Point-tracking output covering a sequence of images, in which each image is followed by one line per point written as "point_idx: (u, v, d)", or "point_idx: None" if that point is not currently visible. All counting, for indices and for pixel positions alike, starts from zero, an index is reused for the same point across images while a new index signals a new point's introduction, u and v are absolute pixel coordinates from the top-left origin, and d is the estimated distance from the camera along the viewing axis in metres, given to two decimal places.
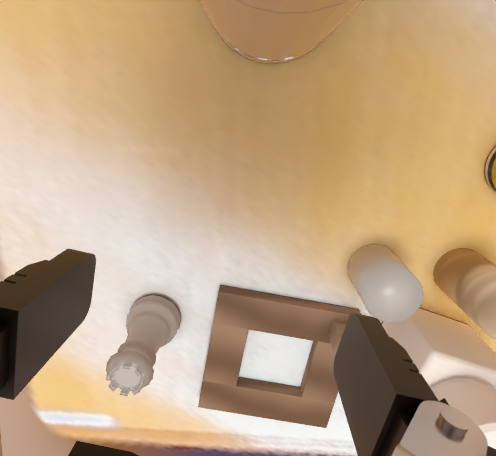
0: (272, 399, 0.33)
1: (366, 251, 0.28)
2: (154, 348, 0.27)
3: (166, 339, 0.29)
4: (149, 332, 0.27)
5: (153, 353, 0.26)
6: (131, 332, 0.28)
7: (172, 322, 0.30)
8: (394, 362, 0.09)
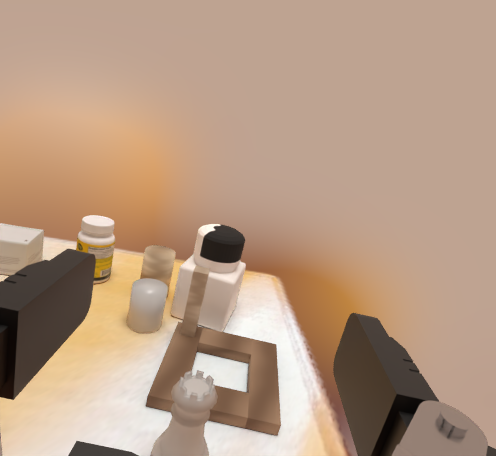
0: (257, 371, 0.38)
1: (128, 318, 0.42)
2: None
3: None
4: None
5: None
6: (172, 435, 0.26)
7: None
8: (394, 362, 0.09)
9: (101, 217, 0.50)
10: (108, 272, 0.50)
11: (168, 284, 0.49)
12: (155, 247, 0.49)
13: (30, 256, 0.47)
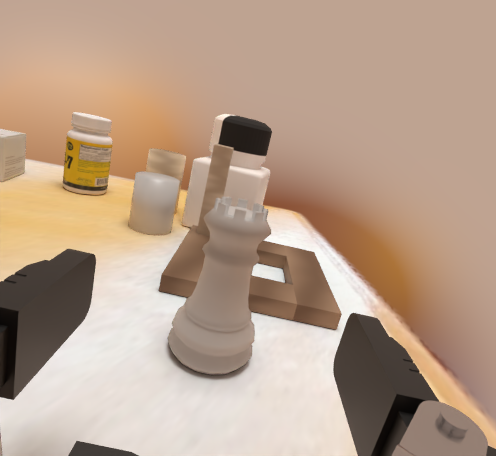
0: (298, 268, 0.30)
1: (131, 217, 0.34)
2: None
3: None
4: None
5: None
6: (205, 285, 0.17)
7: None
8: (394, 362, 0.09)
9: (96, 116, 0.41)
10: (104, 183, 0.42)
11: (177, 194, 0.41)
12: (161, 150, 0.41)
13: (9, 156, 0.38)
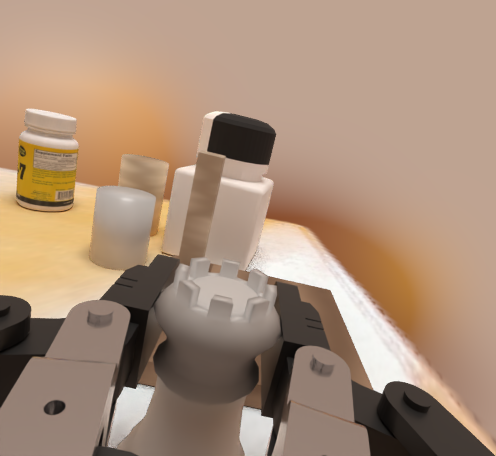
0: None
1: (91, 246, 0.26)
2: None
3: None
4: None
5: None
6: (157, 430, 0.09)
7: None
8: (294, 318, 0.10)
9: (57, 113, 0.33)
10: (69, 197, 0.34)
11: (158, 211, 0.33)
12: (138, 156, 0.33)
13: None
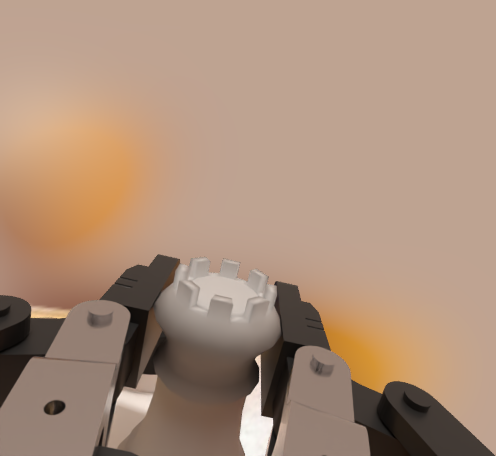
0: None
1: None
2: None
3: None
4: None
5: None
6: (157, 430, 0.09)
7: None
8: (294, 318, 0.10)
9: None
10: None
11: None
12: None
13: None
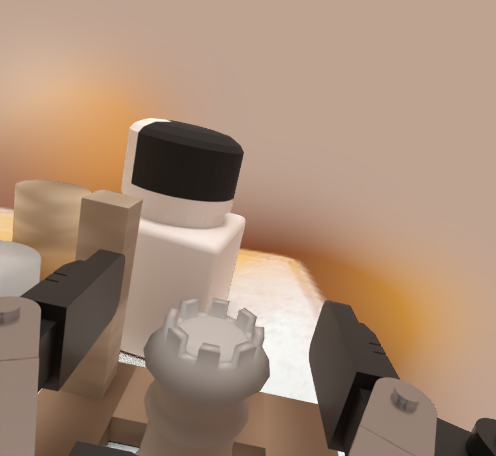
0: None
1: None
2: None
3: None
4: None
5: None
6: None
7: None
8: (359, 344, 0.09)
9: None
10: None
11: None
12: (47, 183, 0.23)
13: None
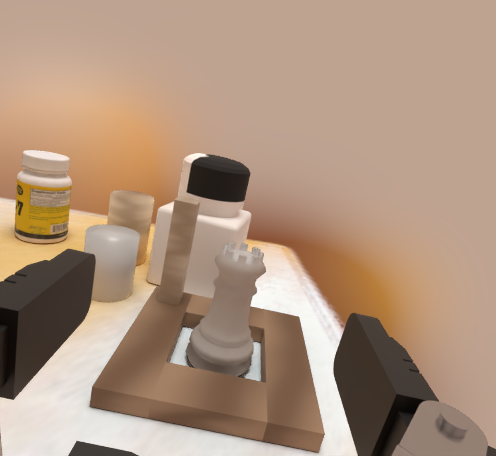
0: (276, 350, 0.25)
1: None
2: None
3: None
4: None
5: None
6: (216, 311, 0.22)
7: None
8: (394, 362, 0.09)
9: (52, 153, 0.36)
10: (63, 229, 0.37)
11: (145, 242, 0.36)
12: (126, 192, 0.36)
13: None
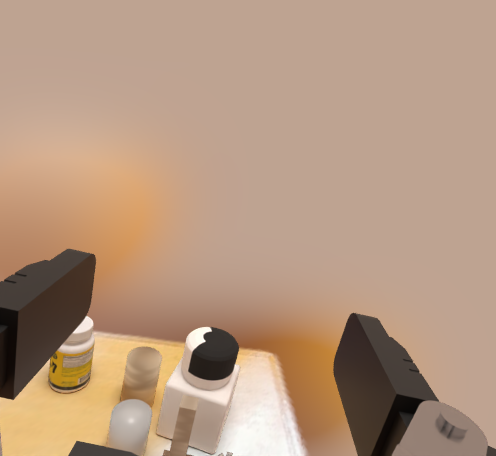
0: None
1: None
2: None
3: None
4: None
5: None
6: None
7: None
8: (394, 362, 0.09)
9: None
10: (87, 377, 0.45)
11: (154, 391, 0.44)
12: (139, 350, 0.44)
13: None
